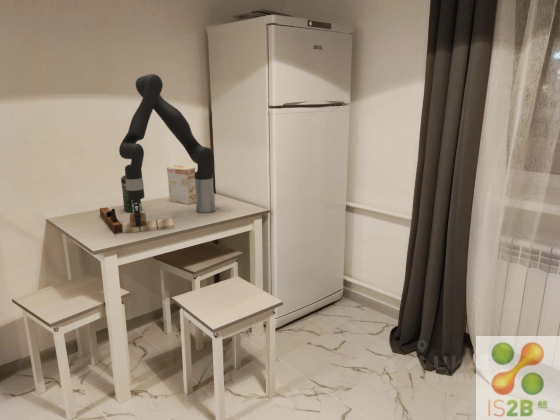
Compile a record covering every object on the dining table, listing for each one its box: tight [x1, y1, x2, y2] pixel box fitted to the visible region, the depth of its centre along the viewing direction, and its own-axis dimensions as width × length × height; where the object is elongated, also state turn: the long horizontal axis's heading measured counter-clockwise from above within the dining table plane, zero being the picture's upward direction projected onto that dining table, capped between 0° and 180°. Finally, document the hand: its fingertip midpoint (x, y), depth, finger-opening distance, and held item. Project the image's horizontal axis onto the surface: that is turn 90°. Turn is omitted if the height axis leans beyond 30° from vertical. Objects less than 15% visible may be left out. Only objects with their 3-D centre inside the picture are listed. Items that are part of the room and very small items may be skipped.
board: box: [122, 217, 175, 234], centre depth 203 cm, size 22×11×2 cm, turn 108°
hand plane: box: [99, 207, 123, 234], centre depth 208 cm, size 34×5×10 cm, turn 34°
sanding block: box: [129, 211, 147, 227], centre depth 201 cm, size 7×4×5 cm, turn 108°
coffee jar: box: [120, 175, 143, 213], centre depth 228 cm, size 10×8×19 cm
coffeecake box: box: [166, 165, 196, 205], centre depth 245 cm, size 15×7×20 cm, turn 58°
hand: (138, 224), depth 201 cm, fingers closed on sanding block, 4 cm apart
